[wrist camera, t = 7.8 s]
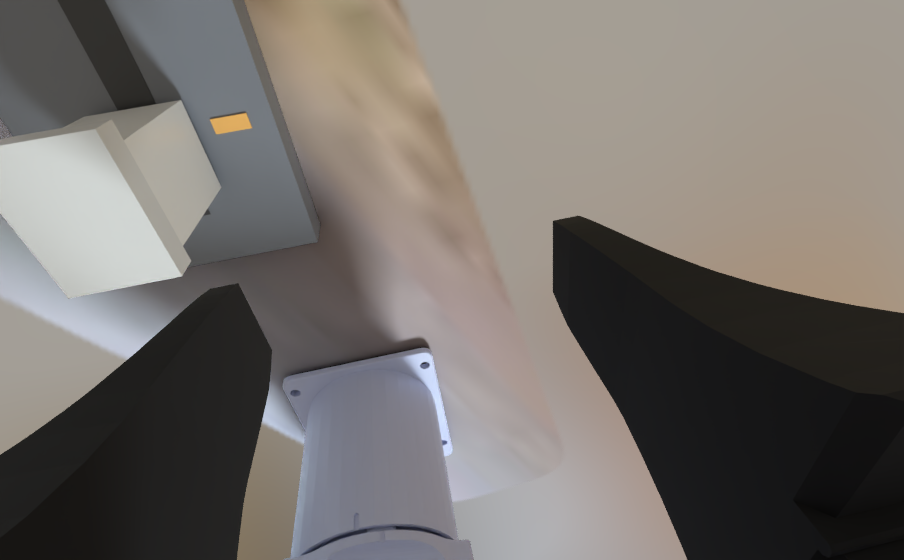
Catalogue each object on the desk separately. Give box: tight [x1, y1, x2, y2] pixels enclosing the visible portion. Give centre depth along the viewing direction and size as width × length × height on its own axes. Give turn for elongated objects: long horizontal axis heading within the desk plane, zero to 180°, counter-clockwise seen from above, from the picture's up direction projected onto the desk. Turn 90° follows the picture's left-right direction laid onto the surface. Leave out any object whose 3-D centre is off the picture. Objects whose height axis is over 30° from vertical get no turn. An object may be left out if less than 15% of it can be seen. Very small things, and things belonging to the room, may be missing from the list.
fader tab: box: [0, 100, 221, 299], centre depth 13 cm, size 4×3×5 cm
